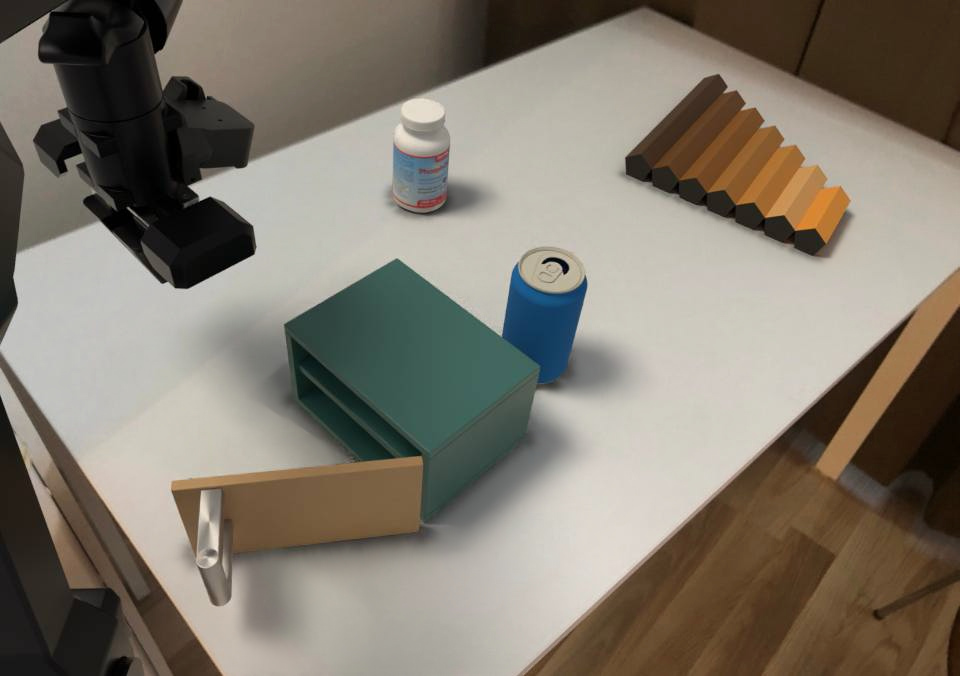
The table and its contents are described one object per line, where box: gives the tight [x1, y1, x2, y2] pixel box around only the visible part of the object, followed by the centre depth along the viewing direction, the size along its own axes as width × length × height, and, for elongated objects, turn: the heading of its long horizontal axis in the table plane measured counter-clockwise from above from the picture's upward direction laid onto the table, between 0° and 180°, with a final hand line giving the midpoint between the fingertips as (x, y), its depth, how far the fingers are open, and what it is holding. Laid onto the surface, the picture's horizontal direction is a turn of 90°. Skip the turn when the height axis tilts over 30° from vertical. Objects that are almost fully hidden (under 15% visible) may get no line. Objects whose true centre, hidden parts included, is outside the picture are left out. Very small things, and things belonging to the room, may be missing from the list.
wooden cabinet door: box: [170, 456, 423, 607], centre depth 55 cm, size 6×17×9 cm, turn 100°
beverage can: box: [501, 245, 589, 385], centre depth 70 cm, size 6×6×12 cm
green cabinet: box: [283, 257, 540, 523], centre depth 66 cm, size 12×17×10 cm
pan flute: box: [624, 73, 852, 257], centre depth 99 cm, size 25×3×25 cm
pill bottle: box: [392, 98, 451, 214], centre depth 86 cm, size 6×6×11 cm
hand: (165, 279), depth 61 cm, fingers closed
